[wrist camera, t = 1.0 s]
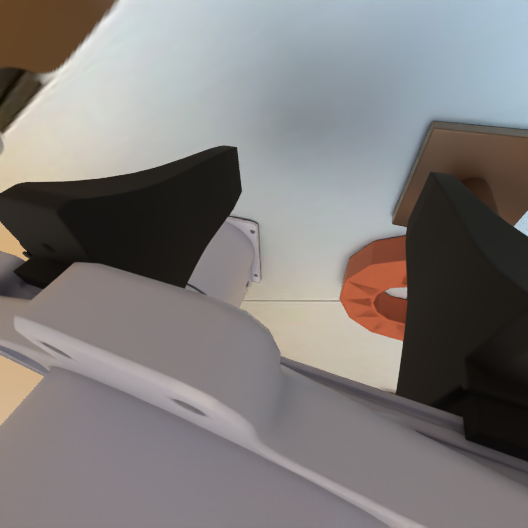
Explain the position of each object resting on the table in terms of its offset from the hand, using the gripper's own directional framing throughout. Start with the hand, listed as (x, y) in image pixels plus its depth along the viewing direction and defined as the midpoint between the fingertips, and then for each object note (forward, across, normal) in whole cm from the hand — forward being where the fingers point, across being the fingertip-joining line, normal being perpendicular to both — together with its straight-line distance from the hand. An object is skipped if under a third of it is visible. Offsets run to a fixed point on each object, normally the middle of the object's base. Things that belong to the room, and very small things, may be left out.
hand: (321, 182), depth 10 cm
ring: (+10, -8, +15) cm, 19 cm away
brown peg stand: (+10, -8, +4) cm, 13 cm away
